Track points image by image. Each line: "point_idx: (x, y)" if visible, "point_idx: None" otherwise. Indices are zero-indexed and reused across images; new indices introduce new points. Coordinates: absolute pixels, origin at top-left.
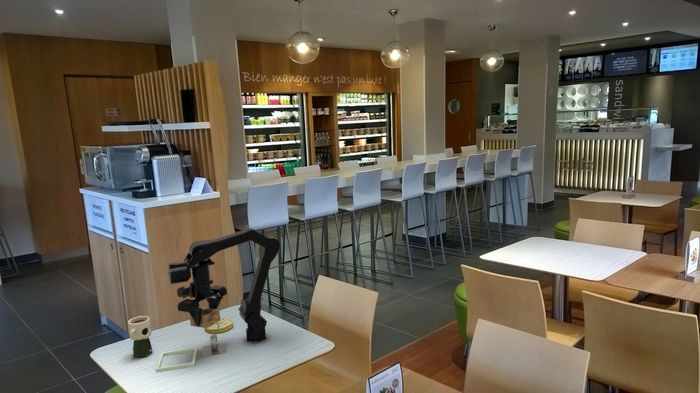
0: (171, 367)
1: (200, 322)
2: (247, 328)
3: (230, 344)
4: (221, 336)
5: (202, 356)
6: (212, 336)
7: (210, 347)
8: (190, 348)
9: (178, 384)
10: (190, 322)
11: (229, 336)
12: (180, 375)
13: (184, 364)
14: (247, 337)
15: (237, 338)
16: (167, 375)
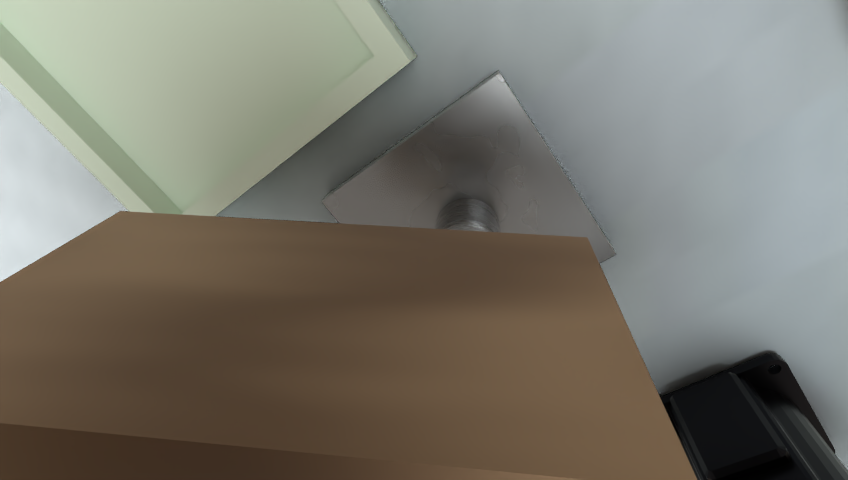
0: (23, 98)
1: None
2: (774, 467)
3: (630, 267)
4: (822, 65)
5: (325, 201)
6: None
7: (497, 160)
8: (358, 2)
9: (5, 261)
10: (60, 250)
11: (819, 158)
12: (73, 196)
13: (109, 188)
14: (682, 429)
15: (766, 261)
16: (8, 94)
